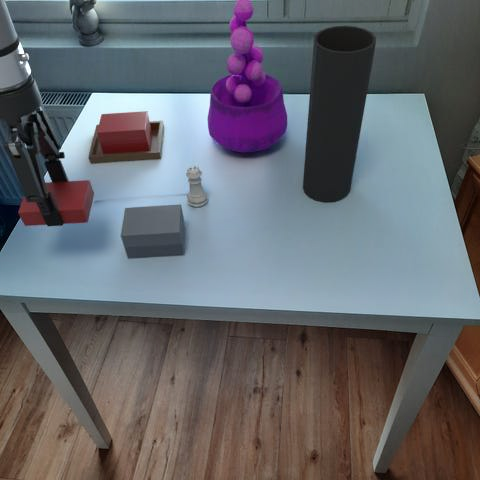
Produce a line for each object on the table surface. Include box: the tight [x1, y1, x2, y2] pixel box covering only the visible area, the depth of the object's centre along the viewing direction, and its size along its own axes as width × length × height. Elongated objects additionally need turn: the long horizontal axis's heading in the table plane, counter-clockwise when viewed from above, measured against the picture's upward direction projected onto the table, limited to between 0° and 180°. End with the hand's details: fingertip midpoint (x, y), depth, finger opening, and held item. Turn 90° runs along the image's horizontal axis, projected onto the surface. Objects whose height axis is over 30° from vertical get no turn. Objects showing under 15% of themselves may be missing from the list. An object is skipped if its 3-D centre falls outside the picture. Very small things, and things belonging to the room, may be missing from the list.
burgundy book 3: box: [101, 125, 152, 154], centre depth 113 cm, size 11×8×3 cm
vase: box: [302, 25, 377, 203], centre depth 90 cm, size 10×10×30 cm
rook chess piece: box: [185, 165, 209, 208], centre depth 98 cm, size 4×4×8 cm
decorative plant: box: [207, 0, 288, 153], centre depth 102 cm, size 19×18×30 cm
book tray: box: [87, 120, 165, 165], centre depth 114 cm, size 17×14×3 cm
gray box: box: [120, 203, 186, 260], centre depth 92 cm, size 11×8×6 cm
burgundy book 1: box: [17, 179, 95, 227], centre depth 83 cm, size 11×8×3 cm
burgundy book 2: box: [97, 110, 151, 144], centre depth 110 cm, size 11×8×3 cm
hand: (60, 208), depth 84 cm, fingers closed on burgundy book 1, 8 cm apart
